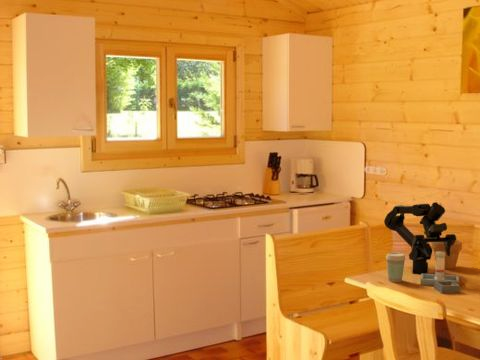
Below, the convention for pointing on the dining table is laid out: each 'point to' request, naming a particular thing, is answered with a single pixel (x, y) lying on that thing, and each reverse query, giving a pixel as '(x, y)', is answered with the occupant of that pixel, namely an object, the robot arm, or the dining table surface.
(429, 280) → the tray
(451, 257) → the flower pot
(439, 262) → the fuse
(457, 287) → the clip block
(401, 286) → the dining table surface
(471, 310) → the dining table surface
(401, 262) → the coffee cup
